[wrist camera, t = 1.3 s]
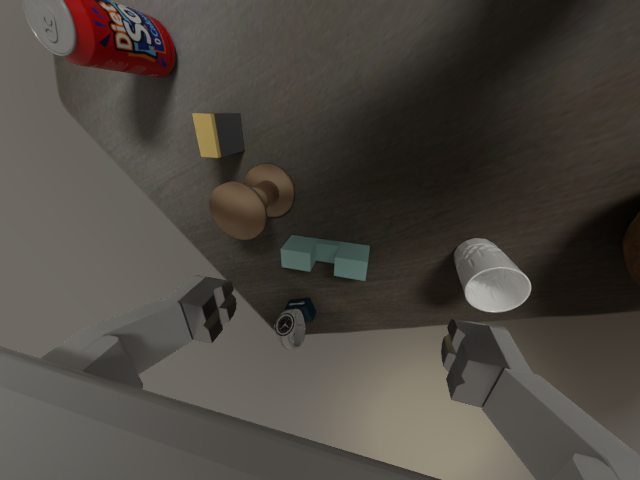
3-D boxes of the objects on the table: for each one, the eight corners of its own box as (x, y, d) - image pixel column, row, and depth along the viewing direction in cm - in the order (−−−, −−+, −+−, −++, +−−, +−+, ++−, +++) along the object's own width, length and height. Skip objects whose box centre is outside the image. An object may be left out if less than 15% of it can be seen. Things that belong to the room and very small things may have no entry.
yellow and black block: (224, 113, 42) (192, 113, 35) (240, 113, 41) (210, 113, 34) (230, 149, 44) (201, 156, 38) (244, 150, 44) (218, 157, 37)
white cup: (456, 277, 45) (471, 316, 36) (444, 242, 42) (458, 275, 34) (505, 267, 42) (535, 307, 33) (496, 228, 39) (526, 260, 31)
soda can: (137, 65, 41) (24, 44, 29) (137, 8, 37) (6, -46, 25) (177, 86, 41) (82, 75, 29) (181, 31, 37) (73, -11, 25)
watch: (306, 291, 56) (290, 327, 46) (318, 317, 59) (305, 356, 49) (286, 294, 58) (266, 329, 48) (298, 319, 61) (281, 357, 51)
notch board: (291, 234, 50) (280, 249, 44) (370, 245, 46) (367, 262, 41) (292, 251, 51) (281, 267, 46) (367, 262, 48) (365, 281, 43)
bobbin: (243, 161, 45) (200, 176, 35) (294, 165, 43) (264, 182, 32) (249, 212, 50) (213, 238, 39) (295, 217, 47) (270, 246, 37)
